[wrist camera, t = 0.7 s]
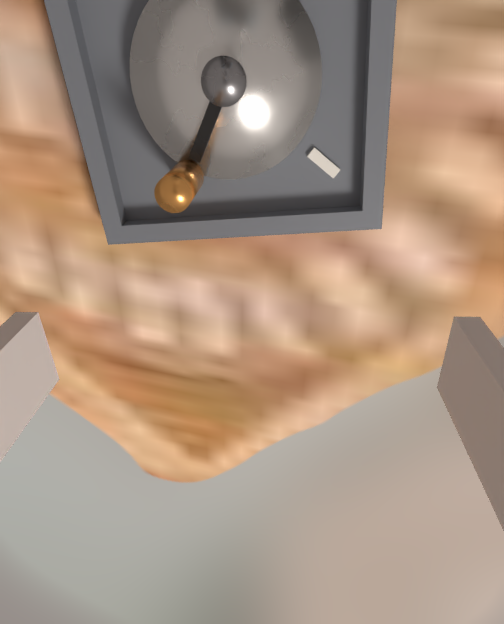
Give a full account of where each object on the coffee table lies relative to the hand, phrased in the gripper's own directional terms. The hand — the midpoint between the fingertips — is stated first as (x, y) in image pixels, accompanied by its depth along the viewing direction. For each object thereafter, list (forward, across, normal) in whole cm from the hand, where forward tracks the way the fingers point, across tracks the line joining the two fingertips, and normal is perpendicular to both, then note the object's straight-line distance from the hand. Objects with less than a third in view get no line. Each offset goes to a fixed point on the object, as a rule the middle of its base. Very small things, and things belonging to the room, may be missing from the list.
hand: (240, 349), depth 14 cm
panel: (+24, -3, +7) cm, 25 cm away
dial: (+23, -3, +7) cm, 24 cm away
